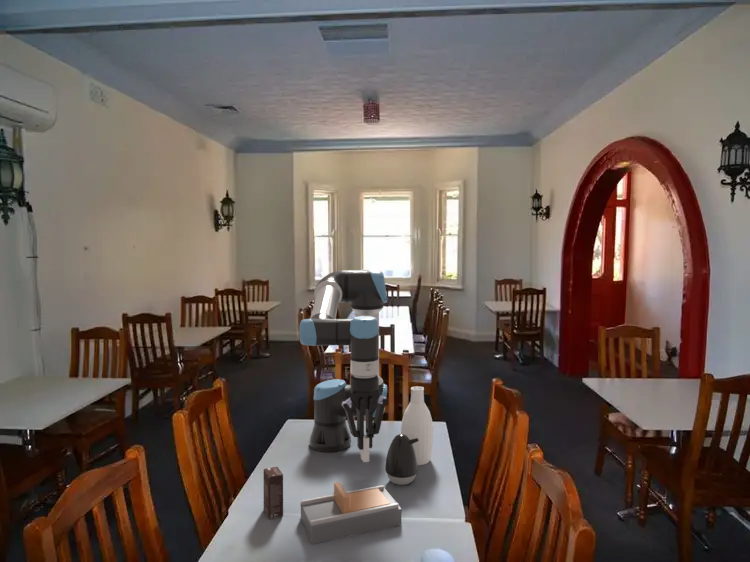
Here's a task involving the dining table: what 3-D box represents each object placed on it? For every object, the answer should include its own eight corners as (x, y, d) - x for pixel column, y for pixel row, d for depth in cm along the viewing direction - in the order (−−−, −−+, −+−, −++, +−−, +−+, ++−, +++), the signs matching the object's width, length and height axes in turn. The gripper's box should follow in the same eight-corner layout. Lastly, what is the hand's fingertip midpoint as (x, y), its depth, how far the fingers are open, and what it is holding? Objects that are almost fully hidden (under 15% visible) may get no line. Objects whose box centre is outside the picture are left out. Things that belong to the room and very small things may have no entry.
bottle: (424, 470, 173) (424, 395, 171) (394, 462, 179) (395, 389, 177) (438, 457, 183) (439, 386, 180) (410, 450, 189) (410, 381, 186)
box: (284, 515, 146) (283, 474, 145) (268, 519, 144) (267, 477, 143) (278, 505, 151) (277, 465, 150) (263, 509, 149) (262, 468, 148)
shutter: (334, 499, 146) (334, 482, 145) (377, 490, 150) (377, 474, 150) (344, 515, 137) (343, 498, 137) (390, 506, 142) (390, 489, 141)
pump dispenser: (416, 490, 160) (416, 442, 158) (382, 487, 162) (382, 439, 160) (420, 475, 170) (420, 429, 168) (388, 472, 172) (388, 427, 170)
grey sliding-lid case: (300, 518, 145) (300, 499, 144) (383, 501, 154) (383, 483, 153) (312, 544, 133) (312, 523, 132) (401, 524, 141) (401, 505, 141)
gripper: (345, 380, 135) (346, 469, 137) (392, 375, 139) (392, 461, 142) (337, 373, 142) (337, 458, 144) (382, 369, 146) (382, 451, 149)
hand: (364, 459), depth 143 cm, fingers closed
